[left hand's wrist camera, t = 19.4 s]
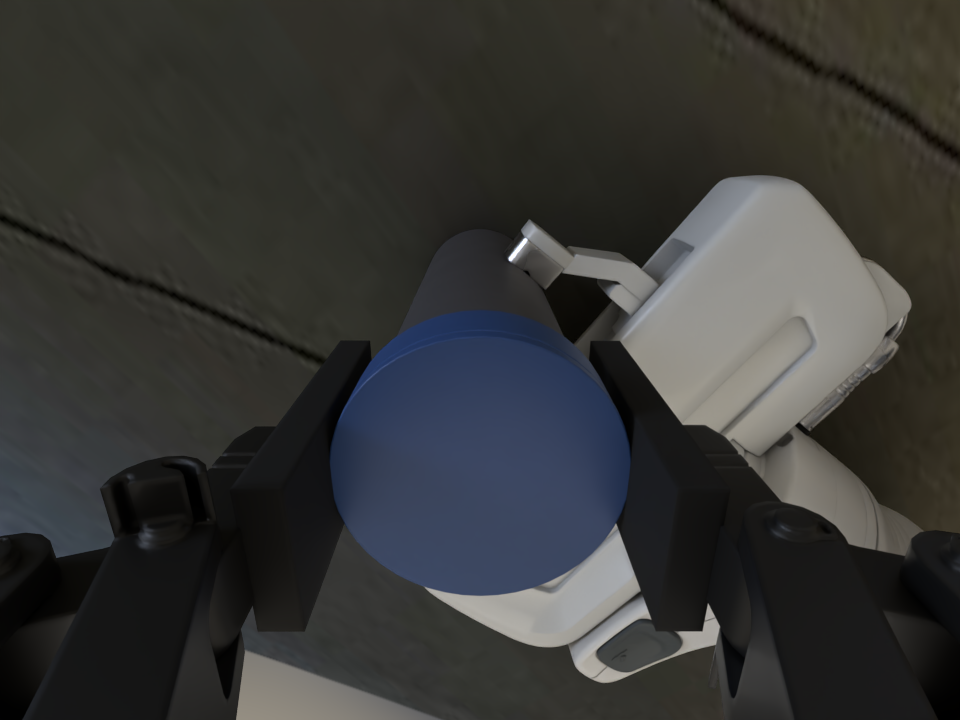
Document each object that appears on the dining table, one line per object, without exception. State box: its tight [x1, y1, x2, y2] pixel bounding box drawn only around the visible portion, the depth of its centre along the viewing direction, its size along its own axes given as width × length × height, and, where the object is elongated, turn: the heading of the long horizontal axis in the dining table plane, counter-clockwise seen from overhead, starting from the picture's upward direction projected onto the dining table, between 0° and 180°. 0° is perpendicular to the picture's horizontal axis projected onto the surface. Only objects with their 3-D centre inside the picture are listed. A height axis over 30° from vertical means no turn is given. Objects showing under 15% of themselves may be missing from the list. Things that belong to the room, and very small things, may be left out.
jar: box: [397, 229, 563, 336], centre depth 18 cm, size 5×5×16 cm
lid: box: [329, 310, 631, 596], centre depth 11 cm, size 6×6×2 cm
